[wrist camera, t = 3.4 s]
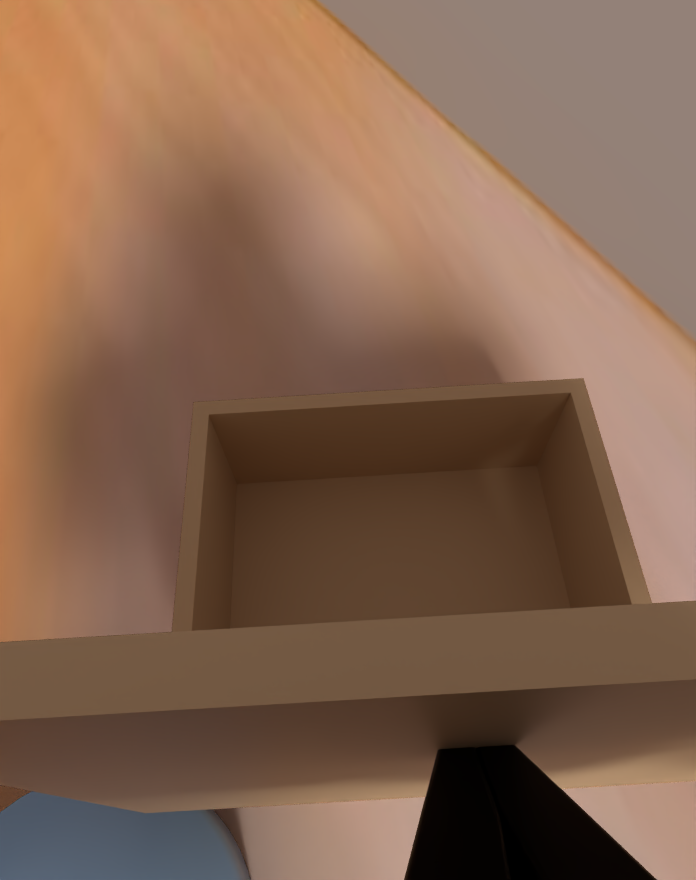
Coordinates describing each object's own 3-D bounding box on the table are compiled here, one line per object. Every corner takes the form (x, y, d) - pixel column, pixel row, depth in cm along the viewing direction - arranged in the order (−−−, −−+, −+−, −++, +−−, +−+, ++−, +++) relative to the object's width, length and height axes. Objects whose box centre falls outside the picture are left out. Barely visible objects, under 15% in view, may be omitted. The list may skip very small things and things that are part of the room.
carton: (617, 755, 18) (692, 736, 14) (208, 779, 18) (158, 767, 14) (545, 458, 24) (583, 378, 19) (226, 477, 24) (193, 401, 19)
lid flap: (709, 747, 13) (720, 779, 13) (149, 780, 13) (145, 812, 13) (1256, 567, 5) (1323, 640, 5) (-220, 655, 5) (-256, 736, 5)
